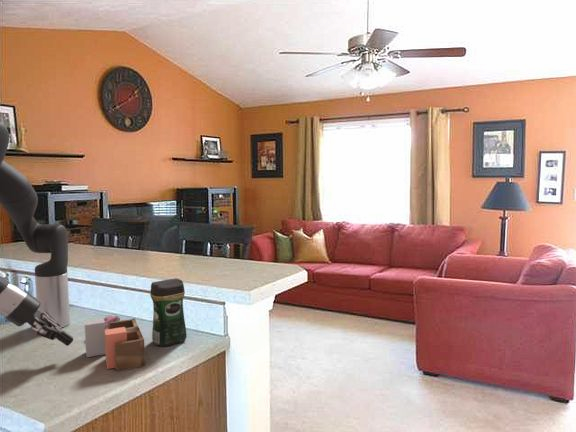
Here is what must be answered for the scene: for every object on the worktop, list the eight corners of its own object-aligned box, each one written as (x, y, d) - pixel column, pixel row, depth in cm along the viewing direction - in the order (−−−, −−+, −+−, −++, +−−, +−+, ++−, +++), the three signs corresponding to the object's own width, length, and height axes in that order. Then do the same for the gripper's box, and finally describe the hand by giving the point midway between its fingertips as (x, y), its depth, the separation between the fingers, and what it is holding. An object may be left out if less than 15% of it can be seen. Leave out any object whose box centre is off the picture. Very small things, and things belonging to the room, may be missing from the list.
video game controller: (98, 345, 131) (106, 326, 130) (85, 338, 131) (94, 318, 130) (116, 333, 141) (124, 315, 139) (104, 326, 141) (112, 308, 140)
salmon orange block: (106, 362, 115) (104, 329, 114) (126, 359, 118) (124, 326, 117) (107, 369, 112) (105, 335, 111) (127, 365, 114) (126, 331, 113)
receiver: (110, 345, 127) (109, 322, 126) (135, 341, 130) (134, 318, 129) (116, 371, 111) (115, 344, 110) (145, 365, 114) (144, 339, 113)
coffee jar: (179, 333, 137) (177, 274, 135) (190, 341, 130) (188, 280, 128) (148, 340, 131) (146, 279, 129) (158, 349, 124) (156, 285, 122)
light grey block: (86, 351, 122) (84, 320, 121) (105, 348, 125) (103, 317, 124) (86, 357, 119) (84, 325, 118) (106, 353, 121) (104, 322, 120)
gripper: (23, 299, 107) (81, 339, 113) (28, 286, 118) (80, 323, 125) (-1, 324, 105) (60, 363, 112) (6, 308, 117) (60, 344, 123)
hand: (70, 342), depth 118 cm, fingers closed
